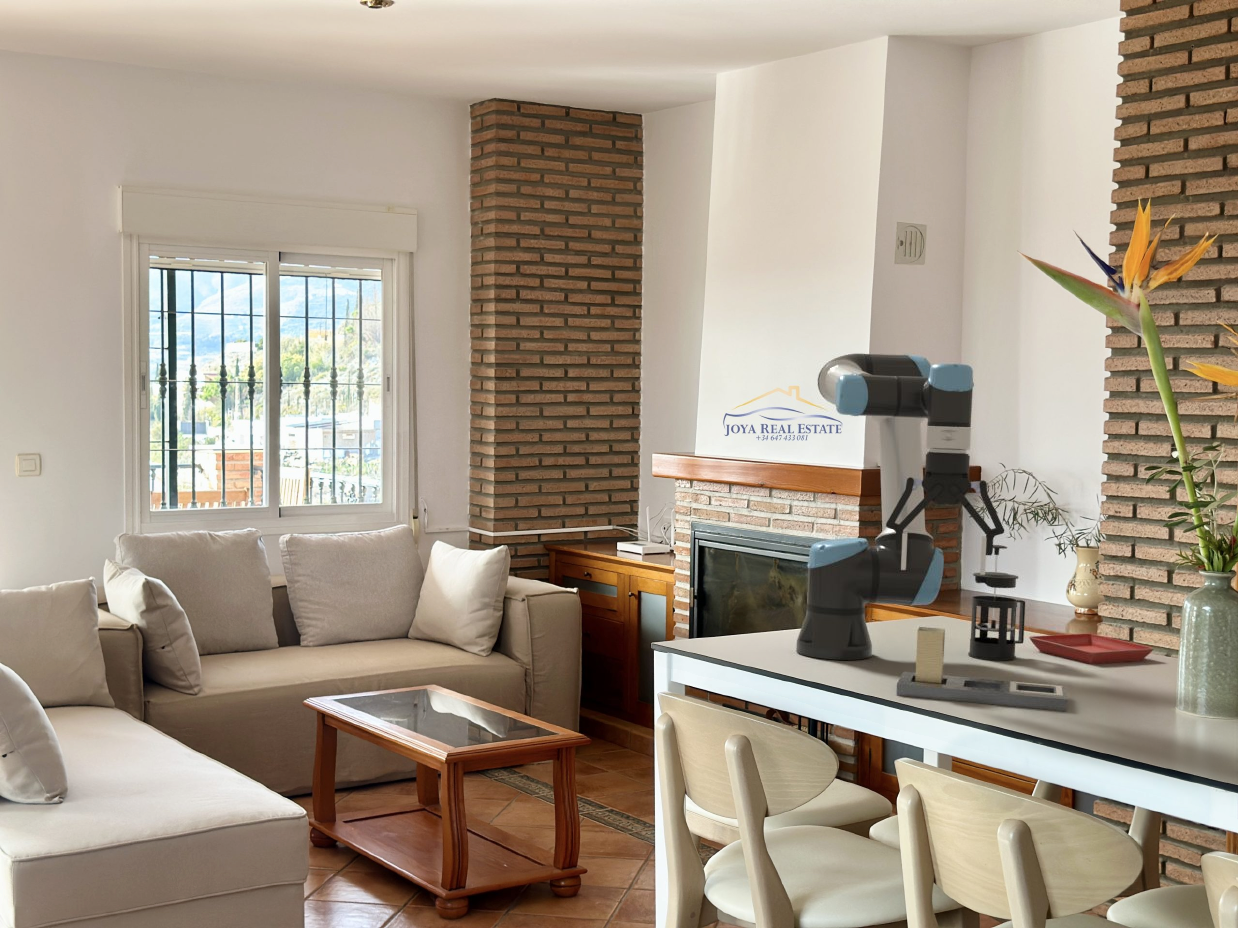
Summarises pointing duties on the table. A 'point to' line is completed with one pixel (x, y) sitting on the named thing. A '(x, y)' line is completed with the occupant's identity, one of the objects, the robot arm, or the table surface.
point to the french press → (987, 645)
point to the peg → (930, 655)
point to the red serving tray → (1090, 648)
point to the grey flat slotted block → (986, 692)
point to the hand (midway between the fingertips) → (942, 571)
